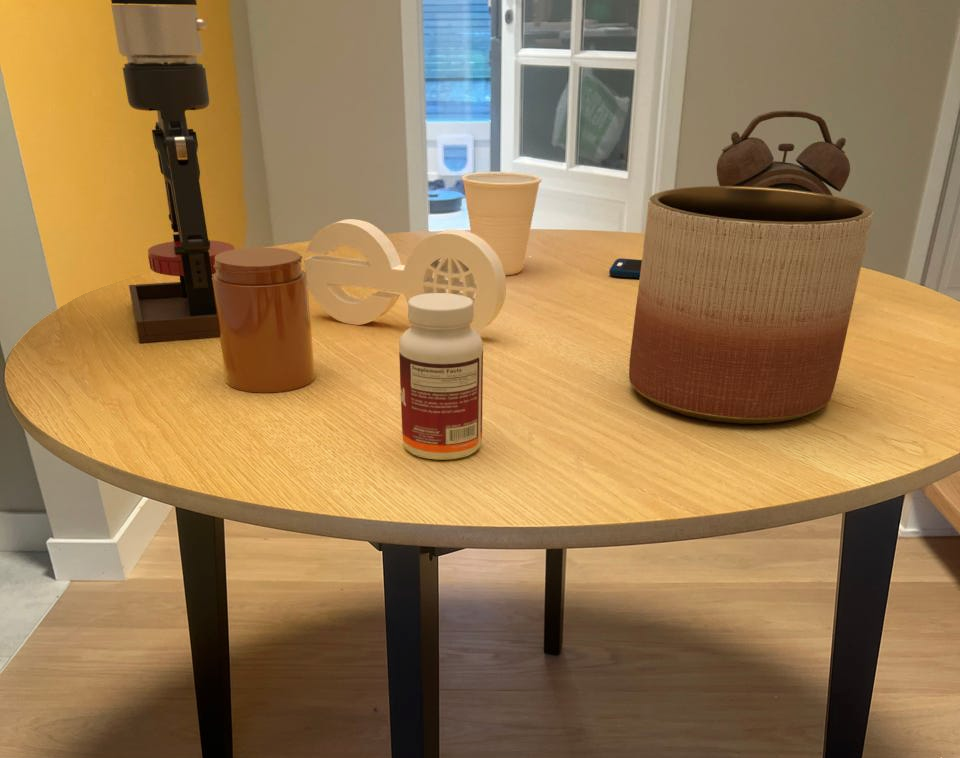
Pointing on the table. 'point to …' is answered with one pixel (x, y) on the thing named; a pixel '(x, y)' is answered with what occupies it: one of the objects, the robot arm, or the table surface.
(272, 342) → the jar
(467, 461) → the table surface
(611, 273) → the cell phone
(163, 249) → the jar lid
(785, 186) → the alarm clock
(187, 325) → the tray
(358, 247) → the cream logo sign
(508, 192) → the cup
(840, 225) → the planter
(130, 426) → the table surface
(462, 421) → the pill bottle
